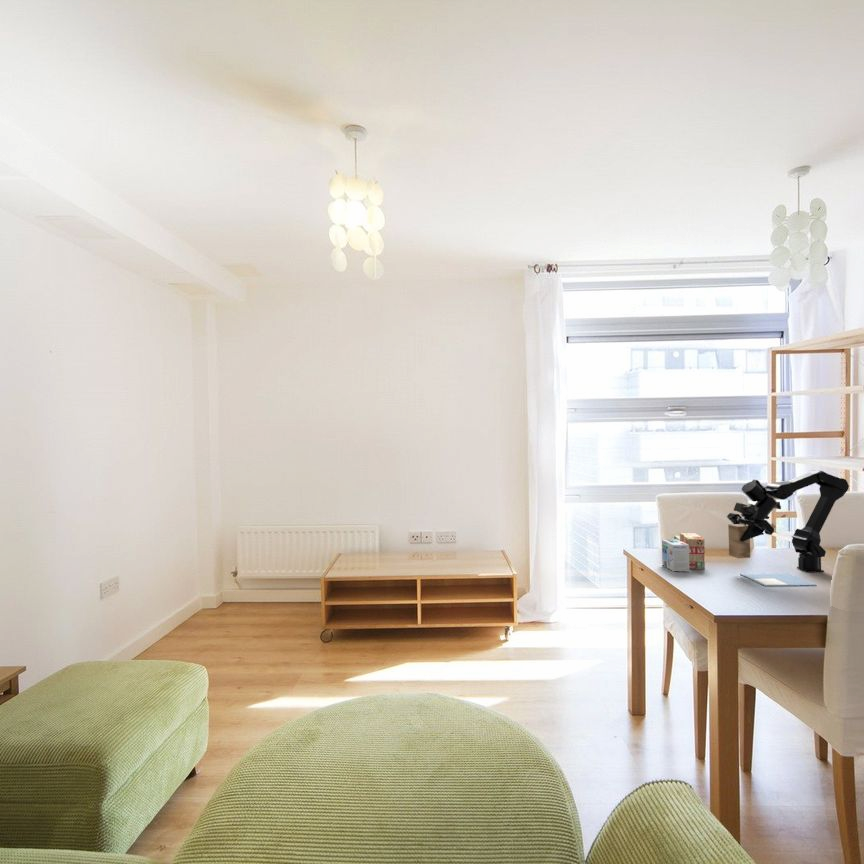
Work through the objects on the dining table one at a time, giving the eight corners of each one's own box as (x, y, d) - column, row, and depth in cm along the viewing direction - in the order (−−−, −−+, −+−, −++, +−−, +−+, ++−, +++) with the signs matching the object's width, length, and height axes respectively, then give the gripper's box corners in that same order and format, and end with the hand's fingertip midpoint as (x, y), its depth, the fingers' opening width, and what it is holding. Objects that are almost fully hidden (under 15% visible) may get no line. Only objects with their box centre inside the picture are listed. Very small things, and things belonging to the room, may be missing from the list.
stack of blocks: (674, 556, 225) (673, 528, 225) (689, 556, 224) (689, 528, 224) (688, 568, 204) (687, 538, 205) (705, 569, 203) (704, 538, 203)
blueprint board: (787, 574, 194) (787, 572, 194) (816, 585, 179) (816, 584, 179) (740, 574, 194) (740, 573, 194) (764, 586, 179) (764, 584, 179)
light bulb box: (661, 565, 210) (661, 539, 210) (678, 565, 210) (677, 539, 210) (673, 572, 200) (672, 544, 200) (690, 572, 199) (689, 544, 199)
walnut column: (740, 554, 198) (740, 523, 198) (750, 557, 193) (749, 526, 193) (729, 555, 197) (728, 524, 197) (738, 558, 192) (737, 526, 192)
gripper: (730, 492, 205) (706, 521, 204) (766, 498, 186) (739, 529, 185) (748, 511, 206) (724, 539, 204) (786, 519, 187) (759, 550, 186)
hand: (735, 539), depth 195 cm, fingers closed on walnut column, 5 cm apart
